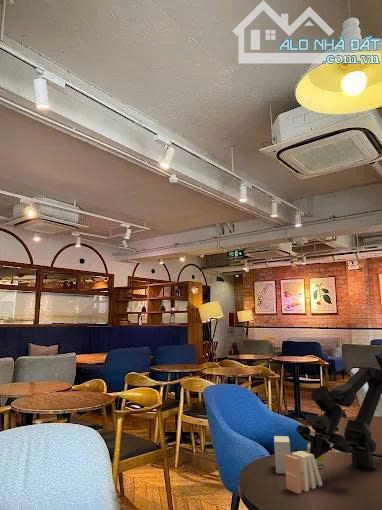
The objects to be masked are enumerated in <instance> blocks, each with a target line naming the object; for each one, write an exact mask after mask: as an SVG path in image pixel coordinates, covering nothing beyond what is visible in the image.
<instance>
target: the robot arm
mask: <svg viewBox="0 0 382 510" xmlns="http://www.w3.org/2000/svg"><path fill="white" fill-rule="evenodd" d="M366 384H367V387H368V388H367V389H366V393H365V395H364V398H363V400H362V403H361V405H360V408H359V409H358V410H359V411H358V413H357V415H356V417H355V419H354V420H353V419H348V421H347V423H346V425H345V427H344V432H343V434H338V432H339V431H340V428H339V427H338V426H339V424H340V422H341V419H342V418H343V419H347V417H348V416H347V413H346V410H345V409H343V408H342V407H344V408H350V407H351V406H352V405H353V403H354V402H355V400H356V394H357V393H358V392H359V391H360V390H361V389H362V388H363V387H364V386H365V385H366ZM381 397H382V370H380V369H377V368H374V367H372V366H364V365H362V366H360V367H358V370H357V371H356V372H355V373H354V374H353V375H352V376H351V377H350V378H349V379H348V380H347V381H345V383H343V384H341V385H340V384H339V385H337V386H335V387H333V388H332V389H331V390H330V391H329V389H328V387H327V386H326V385H320V387H317V388H316V389H314V391H312V392H311V394H310V398H311V401H313V402H314V404H315V405H316V406H317V408H318V409H319V410H320V411H321V412H323V414H321V415H315V414H310V413H307V414H306V418H305V424H306V425H303V424H298V425H297V427H296V429H295V431H296V432H297V434H298V435H299V436H300V437H301V438H302V440H304V441H306V442H308V443H310V454H313V455H314V458H315V460H316V459H317V458H318V457H320V456H321V455H323V456H324V454H327V453H328V452H330V451H331V452H332V451H333V446H334V445H337V446H338V449H339V451H340V452H343V453H346V454H348V453H349V451H350V448H351V453H350V454H351V463H350V466H352V467H353V468H355V469H357V470H360V471H361V472H363V471H370V470H376V469H377V466H375V465H374V459H373V453H375V451H376V450H377V443H376V442H375V440H373V438H372V431H371V427H370V426H371V423H372V420H373V417H374V415H375V413H376V410H377V407H378V405H379V401H380V400H381ZM307 425H310V426H311V429H310V427H309V426H307ZM336 432H337V433H336Z"/></svg>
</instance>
